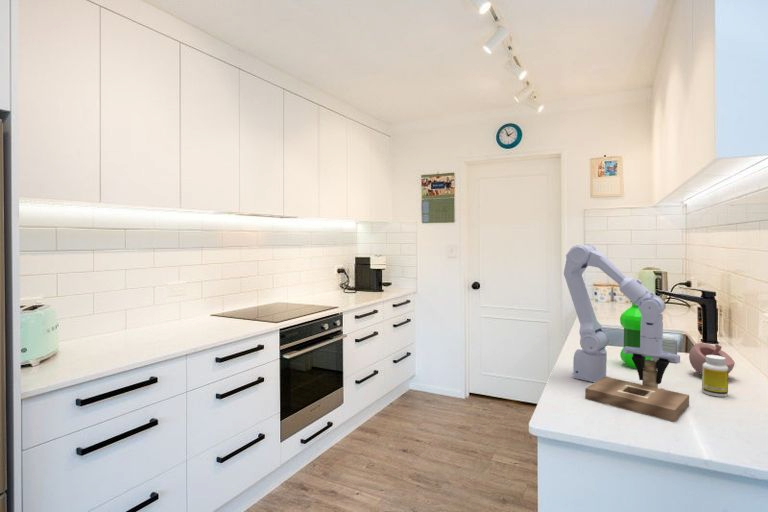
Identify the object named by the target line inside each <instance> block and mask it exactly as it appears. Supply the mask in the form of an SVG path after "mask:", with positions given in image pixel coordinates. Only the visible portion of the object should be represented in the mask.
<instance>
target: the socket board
mask: <svg viewBox="0 0 768 512" xmlns="http://www.w3.org/2000/svg"><path fill="white" fill-rule="evenodd" d="M609 377H610V376H608V377H603V378H602V379H600V380H598V381H597V382H592V383H591V384H590V385H589V386H587V387H585V388H584V389H585V390H584V391H585V396H584V398H585V400H589V401H594V402H597V403H601V404H604V405H608V406H611V407H612V406H613V407H616V408H620V409H623V410H628V411H632V412H635V413H639V414H642V415H645V416H646V415H647V416H651V417H654V418H658V419H663V420H666V421H670V422H676V421H677V420H678V419H679V418H680V417H681V416H682V414H683V413H684V412H685V411H686V410H687V409H688V408H689V407H690V394H686V393H682V392H679V391H678V392H677V391H673V390H668V389H664V388H659V387H658V388H655V387H650V386H646V385H642V384H640V383H635V382H633V381H626V380H623V379H617V378H613V377H611V378H609Z"/></svg>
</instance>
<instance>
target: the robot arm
mask: <svg viewBox="0 0 768 512" xmlns="http://www.w3.org/2000/svg"><path fill="white" fill-rule="evenodd" d="M565 258H566V260H565V265H564V270H563V276H564V278H565V282H566V286H567V287H568V290H569V291H568V292H569V294H570V298H571V300H572V303H573V306H574V309H575V312H576V315H577V318H578V321H579V324H580V325H579V326H580V327H579V335H580V338H579V339H580V340H579V344H580V348H581V349H579V348H578V349H576V350H575V352H574V353H573V361H572V362H573V363H572V364H573V367H572V368H573V370H572V371H573V372H572V373H573V374H572V375H571V376H572V378H574V379H578V380H583V381H587V382H590V383H595V382H597V381H598V380H600V379H602V378H603V377H609V378H612V377H611V376H608V375H607V359H608V358H607V355H608V353H607V349H606V347H607V346H608V345H609V342H610V339H609V335H608V334H607V332H605V330H604V329H603V327H602V324H601V323H600V322H599V321H598V319H597V317H596V314H595V311H594V308H593V304H592V302H591V298H590V295H589V293H588V290H587V287H586V284H585V281H584V277H583V273H584V272H585V270H587V268H588V266H589V267H593V268H594V267H595V268H597V269H600V270H601V272H603V273H604V274H606V275H607V276H608V277H609V278H610V279H611V280H613V281H614V282H616V283H617V284H618V286H619V292H621V293H622V295H624V296H625V297H626V298H628V300H629V301H630V300H631V301H632V302H633V303H634V304H635V305H637V306H639V307H638V308H639V311H640V313H641V332H640V348H636V347H628V346H626V347H624V346H623V348H624V353H625V354H633V357H632V360H633V362H634V364H635V366H636V368H635V369H636V371H637V373H638V378H639V381H643V370H644V362H645V357H650V358H656V359H659V360H657V361H656V360H655V361H656V364H657V384H658V385H660V384H662V379H663V377H664V373H665V371H666V370H667V368H668V366H669V364H671V362H670V361H673V362H675V363H674V364H679V363H680V362H681V355H680V354H677V355H676V354H672V353H668V352H664V351H662V341H663V337H664V336H663V335H664V321H663V319H664V318H663V317H664V316H663V315H664V314H662V313H664V311H665V309H666V304H665V302H664V300H663V298H662V297H661V296H659V295H655V294H656V293H655V292H654V291H650V290H649V289H648V288H646V286H645V285H643V284H642V283H643V281H642V280H641V279H640V278H638V279H637V278H635V277H627V276H626V274H625V273H623V272H622V271H621V270H620V269H619V268H618V267H617V265H615V264H614V263H613V262H612V261H611V260H610V259H609V258H608V257H606V255H605V254H604V253H602V251H600V250H598V249H597V248H596V247H595V246H594V245H591V244H584V245H583V244H581V245H580V244H576V245H574V246H572V247H571V248H569V251H567V253H566V255H565ZM632 302H631V303H632ZM673 362H672V363H673Z"/></svg>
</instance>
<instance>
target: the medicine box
mask: <svg viewBox="0 0 768 512" xmlns="http://www.w3.org/2000/svg"><path fill="white" fill-rule="evenodd" d="M662 351H664V352H668V353H672V354H676V355H678V338H677V337H671V336H663V341H662ZM651 360H653V361H657V360H659V359H656V358H652V359H651ZM670 363H674V364H676V363H675V362H673V361H670Z"/></svg>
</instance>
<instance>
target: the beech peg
mask: <svg viewBox="0 0 768 512" xmlns="http://www.w3.org/2000/svg"><path fill="white" fill-rule="evenodd" d="M641 381H642V384H641V385H646V386H650V387H655V388H659V384H657V364H656V360H652V359H651V360H645V362H644V370H643V380H641Z"/></svg>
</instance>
